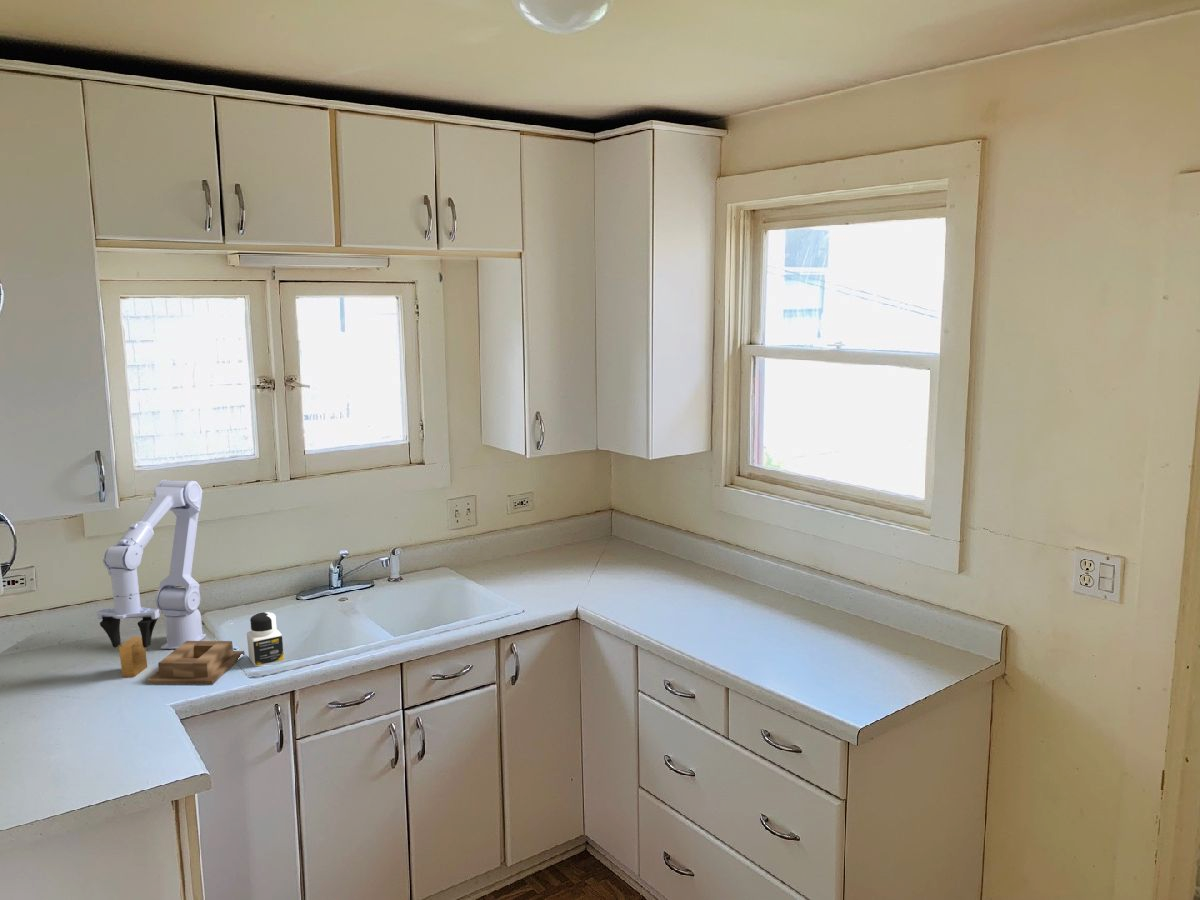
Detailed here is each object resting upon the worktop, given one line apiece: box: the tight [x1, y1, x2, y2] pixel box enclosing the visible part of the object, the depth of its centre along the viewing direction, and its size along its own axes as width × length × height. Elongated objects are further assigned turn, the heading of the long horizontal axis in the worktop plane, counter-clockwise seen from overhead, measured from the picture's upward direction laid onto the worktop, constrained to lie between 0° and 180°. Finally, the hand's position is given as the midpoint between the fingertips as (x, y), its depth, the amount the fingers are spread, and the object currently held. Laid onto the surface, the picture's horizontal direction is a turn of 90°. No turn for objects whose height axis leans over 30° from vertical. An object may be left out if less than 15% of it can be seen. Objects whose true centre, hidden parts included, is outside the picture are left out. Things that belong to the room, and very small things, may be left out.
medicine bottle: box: [246, 611, 285, 668], centre depth 232 cm, size 7×7×12 cm
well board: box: [146, 640, 246, 686], centre depth 227 cm, size 18×16×4 cm
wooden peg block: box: [118, 636, 148, 678], centre depth 226 cm, size 6×3×8 cm, turn 177°
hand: (131, 645), depth 225 cm, fingers open, 7 cm apart
